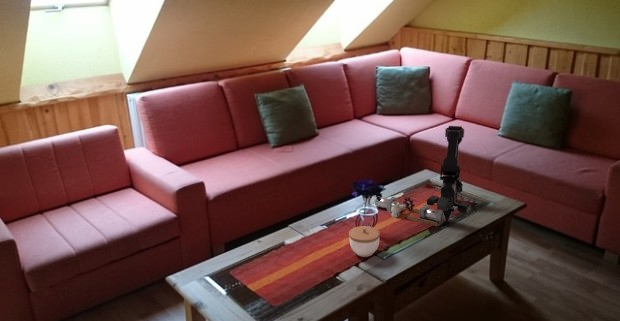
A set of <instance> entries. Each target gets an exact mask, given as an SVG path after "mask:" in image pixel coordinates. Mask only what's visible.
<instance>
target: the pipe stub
mask: <svg viewBox="0 0 620 321" xmlns="http://www.w3.org/2000/svg"><path fill="white" fill-rule="evenodd" d="M380 197H381V200H380V201H378V200H377V197H376V198H375V199H374V200H375V201H374V206H375V207H378V208H383V209H386V212H387V213H389V214H392V212H391V208H392V203H393V202H397V199H398V198H397V197H395V196H392V197H391V198H385V197H382V196H380Z"/></svg>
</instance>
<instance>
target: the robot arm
mask: <svg viewBox="0 0 620 321" xmlns="http://www.w3.org/2000/svg"><path fill="white" fill-rule="evenodd" d="M444 134H445V136H444V137H446V141H447V142H448V143H447V152H446V156H445V157H444V158H443V160H442V164H441V166H440V174H439V180H440V181H442V184H441V188H440V196H438V195H433V194H432V195H431V196H430V197H428V198H427V199H426V205H429V206H431V207H433V206H434V205H435V204H436V210H437V211H439V210H442V211H443V213H444V215H445V221H446V222H450V219H451V217H452V215H453V213H454V212H456V210H457V211H458V212H459V213H462V214H463V213H464V214H467V213H469V211H470V210H471V208H472V205H471V203H470V202H467V201H461V200H460V199H459V198H458V197H459V194H461V193H462V192H463V183H462V182H463V181H461V166H460V165H459V145H460V144H461V143H462V140H463V139H464V137H465V128H464V127H463V126H462V125H461V126H459V125H448V127H446V128H445V132H444Z"/></svg>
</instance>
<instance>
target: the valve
mask: <svg viewBox="0 0 620 321" xmlns="http://www.w3.org/2000/svg"><path fill="white" fill-rule="evenodd" d="M402 203H403V204H400V202H399V201H396V202H393V203H392V208H391V216H392V218H398V217H400V214H401V213H400V212H401V211H403V210H404V209H406V210H407V211H413V210H414V207H415V206H416V205H415V204H414V199H413V200H411V197H405V198H404V200H403V202H402Z"/></svg>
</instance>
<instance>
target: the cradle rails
mask: <svg viewBox="0 0 620 321" xmlns="http://www.w3.org/2000/svg"><path fill="white" fill-rule="evenodd" d="M414 213H416V214H420V209H419V208H415V209H414ZM406 219H407V220H410V221H411V220H412V221H413V222H418V223H422V224H427V225H430V226H435V227H438V226H439V225H438V223H437V222H436V221H434V220H430V219H426V220H425V219H421V218H420V217H416V216H412V215H408V214H407V215H406Z"/></svg>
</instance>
